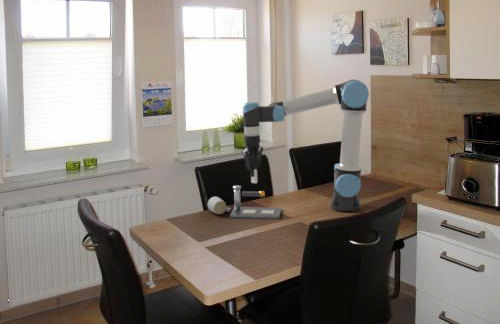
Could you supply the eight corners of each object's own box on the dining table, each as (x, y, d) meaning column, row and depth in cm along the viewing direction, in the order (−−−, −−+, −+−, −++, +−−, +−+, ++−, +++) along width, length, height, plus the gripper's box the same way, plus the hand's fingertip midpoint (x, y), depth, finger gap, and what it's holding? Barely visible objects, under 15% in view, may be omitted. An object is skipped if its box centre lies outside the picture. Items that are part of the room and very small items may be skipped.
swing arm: (241, 196, 259) (241, 192, 259) (242, 195, 262) (242, 190, 261) (264, 197, 258) (264, 192, 257) (264, 195, 260) (264, 191, 260)
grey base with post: (281, 210, 262) (281, 185, 260) (279, 218, 249) (278, 192, 246) (234, 209, 266) (234, 184, 263) (229, 217, 252) (229, 192, 250)
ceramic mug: (214, 216, 255) (214, 201, 253) (207, 212, 262) (207, 197, 260) (233, 213, 260) (233, 198, 258) (226, 209, 267) (225, 194, 265)
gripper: (255, 132, 255) (257, 179, 260) (236, 136, 246) (239, 184, 251) (266, 133, 250) (268, 180, 255) (248, 137, 241) (250, 186, 246)
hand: (254, 182), depth 253 cm, fingers closed
